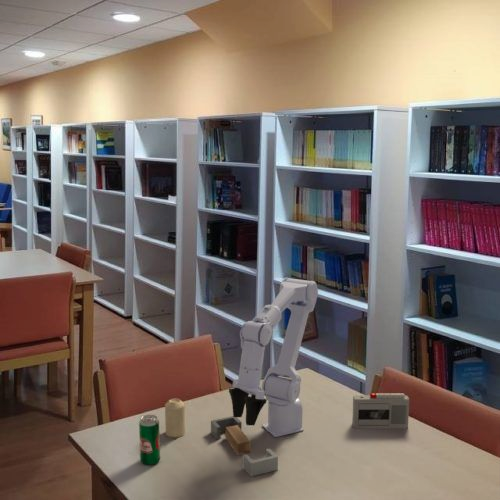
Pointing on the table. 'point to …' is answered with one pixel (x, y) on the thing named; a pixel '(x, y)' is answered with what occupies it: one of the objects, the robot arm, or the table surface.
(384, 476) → the table surface
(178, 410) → the candle
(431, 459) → the table surface
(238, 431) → the brown wooden block
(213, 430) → the fixed cap
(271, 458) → the cap
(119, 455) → the table surface
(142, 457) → the soda can
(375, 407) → the cassette player
